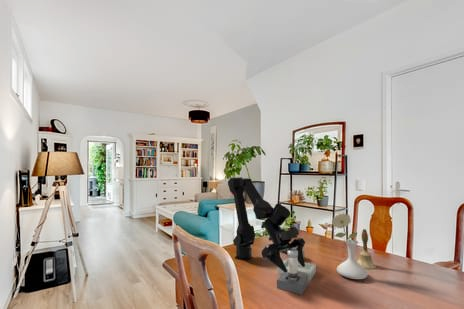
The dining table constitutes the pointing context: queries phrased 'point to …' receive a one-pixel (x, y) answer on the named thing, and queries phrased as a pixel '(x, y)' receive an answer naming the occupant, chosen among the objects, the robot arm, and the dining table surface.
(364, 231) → the hand bell
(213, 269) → the dining table surface
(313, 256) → the dining table surface
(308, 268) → the parts tray
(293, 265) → the frosted bulb
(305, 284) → the socket block
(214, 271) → the dining table surface
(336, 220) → the flower in vase
